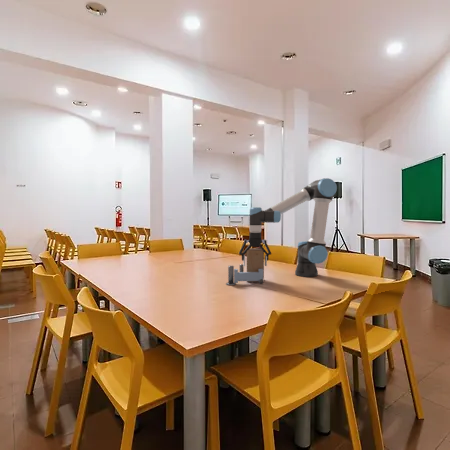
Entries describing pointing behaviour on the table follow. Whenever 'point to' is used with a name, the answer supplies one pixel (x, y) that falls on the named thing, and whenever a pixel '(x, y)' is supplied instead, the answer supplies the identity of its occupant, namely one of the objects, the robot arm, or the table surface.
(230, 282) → the gate posts
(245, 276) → the grey i-beam block
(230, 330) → the table surface
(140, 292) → the table surface
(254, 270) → the wooden block
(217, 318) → the table surface
